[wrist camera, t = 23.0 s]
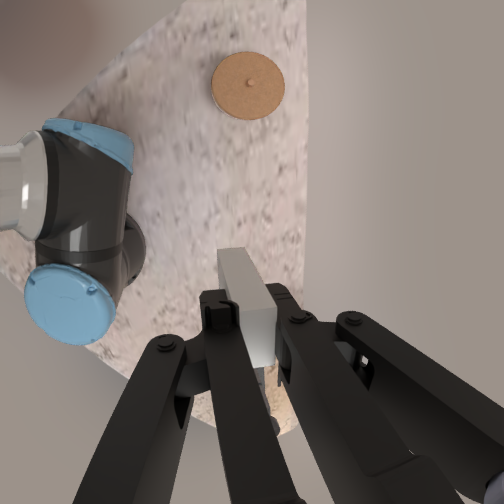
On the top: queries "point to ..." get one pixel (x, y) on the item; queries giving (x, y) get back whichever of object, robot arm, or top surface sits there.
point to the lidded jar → (247, 86)
